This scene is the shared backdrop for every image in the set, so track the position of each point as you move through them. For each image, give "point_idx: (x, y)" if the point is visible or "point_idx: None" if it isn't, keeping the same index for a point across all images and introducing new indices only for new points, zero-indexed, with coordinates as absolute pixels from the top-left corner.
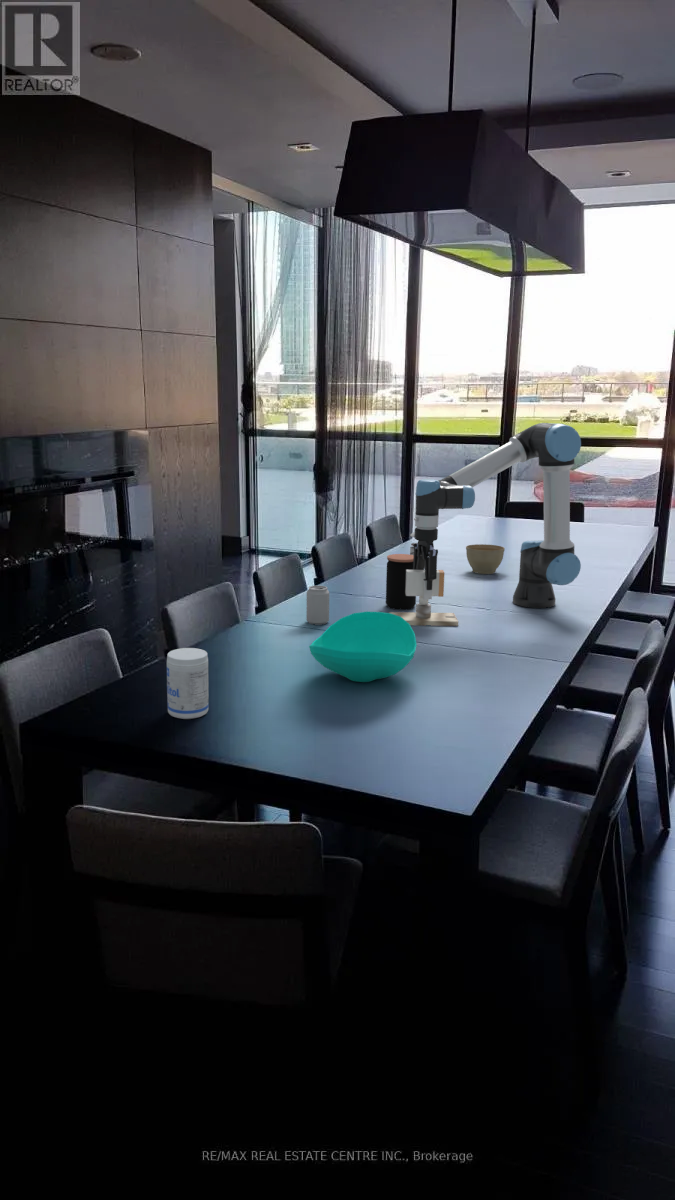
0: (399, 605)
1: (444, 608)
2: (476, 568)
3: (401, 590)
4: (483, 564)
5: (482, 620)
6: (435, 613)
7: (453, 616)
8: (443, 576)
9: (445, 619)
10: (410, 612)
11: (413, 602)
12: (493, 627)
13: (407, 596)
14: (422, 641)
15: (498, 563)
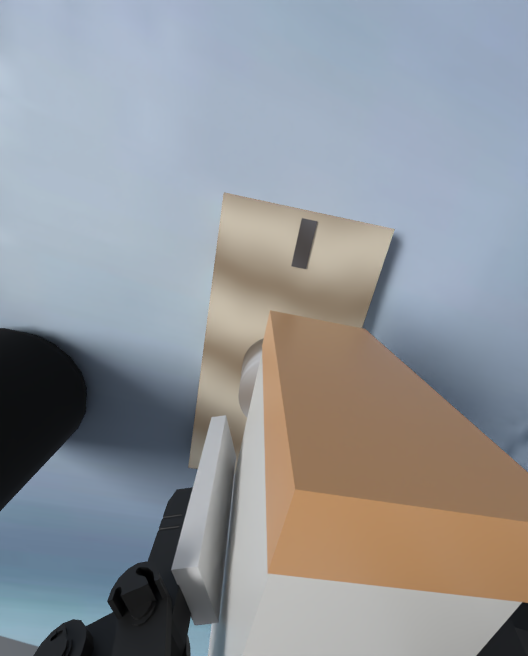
0: (81, 414)
1: (38, 183)
2: None
3: (24, 465)
4: None
5: (314, 31)
6: (225, 296)
7: (302, 223)
8: (501, 466)
9: (342, 283)
10: (199, 397)
11: (43, 356)
12: (472, 22)
13: (43, 410)
14: (524, 425)
15: None
